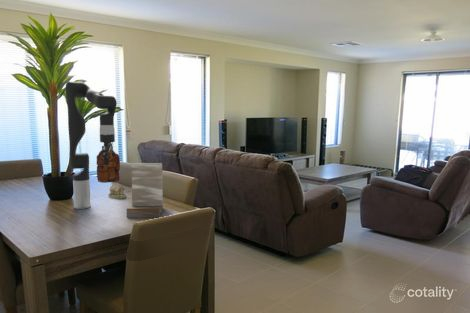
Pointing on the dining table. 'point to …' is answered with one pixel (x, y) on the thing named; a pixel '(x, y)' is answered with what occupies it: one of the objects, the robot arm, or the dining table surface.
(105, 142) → the robot arm
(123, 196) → the ceramic model
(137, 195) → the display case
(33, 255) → the dining table surface
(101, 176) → the wooden figurine
